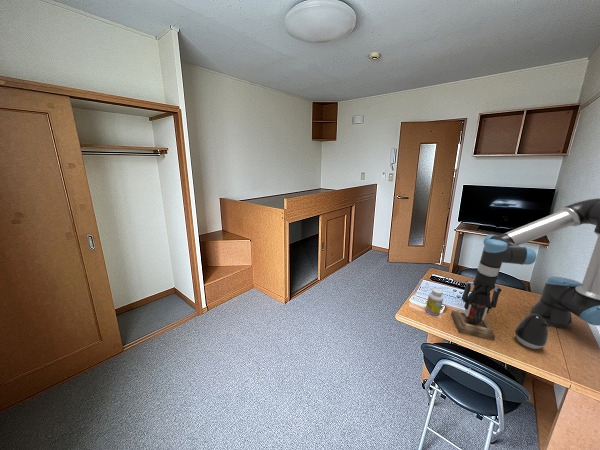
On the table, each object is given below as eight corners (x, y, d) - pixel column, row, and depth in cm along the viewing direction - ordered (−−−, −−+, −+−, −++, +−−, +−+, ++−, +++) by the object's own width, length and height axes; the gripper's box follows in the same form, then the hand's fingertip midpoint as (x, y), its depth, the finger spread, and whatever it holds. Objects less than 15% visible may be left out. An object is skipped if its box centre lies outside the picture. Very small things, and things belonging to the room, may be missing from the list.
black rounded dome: (525, 352, 104) (537, 322, 100) (507, 334, 114) (517, 307, 109) (550, 354, 104) (563, 324, 99) (529, 336, 113) (540, 308, 109)
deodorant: (482, 324, 114) (491, 296, 109) (468, 322, 115) (477, 294, 110) (476, 316, 119) (485, 290, 115) (463, 314, 120) (471, 288, 116)
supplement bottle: (423, 307, 131) (427, 286, 128) (435, 308, 131) (440, 287, 127) (428, 315, 125) (433, 293, 121) (441, 316, 125) (447, 294, 121)
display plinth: (482, 321, 123) (484, 314, 121) (494, 340, 110) (496, 333, 109) (450, 314, 126) (452, 308, 125) (459, 332, 114) (461, 325, 112)
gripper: (507, 273, 111) (493, 316, 117) (461, 265, 116) (449, 307, 122) (516, 281, 104) (500, 326, 110) (466, 272, 109) (454, 316, 116)
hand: (474, 316), depth 116 cm, fingers closed on deodorant, 6 cm apart
